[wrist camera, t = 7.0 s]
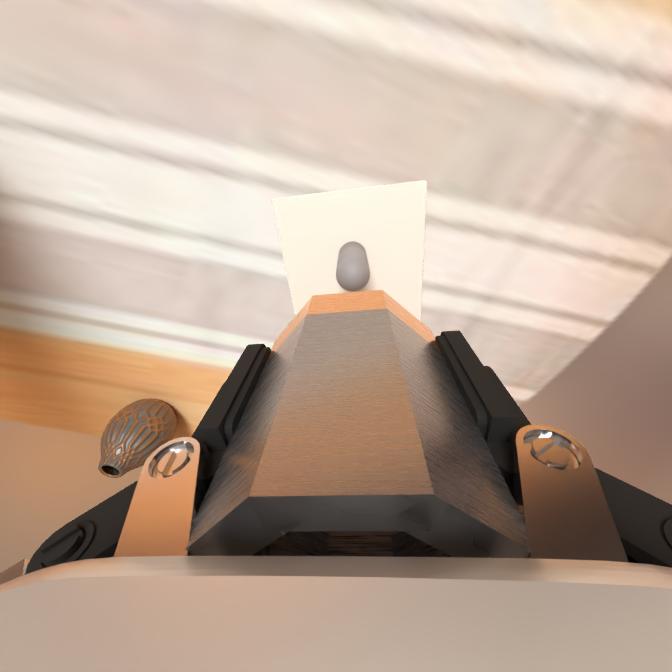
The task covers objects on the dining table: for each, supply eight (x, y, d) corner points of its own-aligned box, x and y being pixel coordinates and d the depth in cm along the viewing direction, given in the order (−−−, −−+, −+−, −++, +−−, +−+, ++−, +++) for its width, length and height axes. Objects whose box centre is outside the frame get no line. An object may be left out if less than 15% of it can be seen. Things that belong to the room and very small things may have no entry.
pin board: (275, 198, 23) (246, 209, 17) (422, 180, 22) (452, 184, 16) (317, 407, 35) (309, 462, 29) (413, 403, 34) (429, 458, 28)
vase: (149, 381, 35) (93, 440, 27) (195, 413, 37) (156, 475, 29) (121, 406, 37) (63, 467, 29) (167, 435, 40) (123, 497, 32)
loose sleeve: (265, 299, 10) (130, 497, 4) (433, 285, 9) (580, 492, 3) (294, 416, 13) (243, 634, 7) (424, 411, 12) (495, 644, 6)
